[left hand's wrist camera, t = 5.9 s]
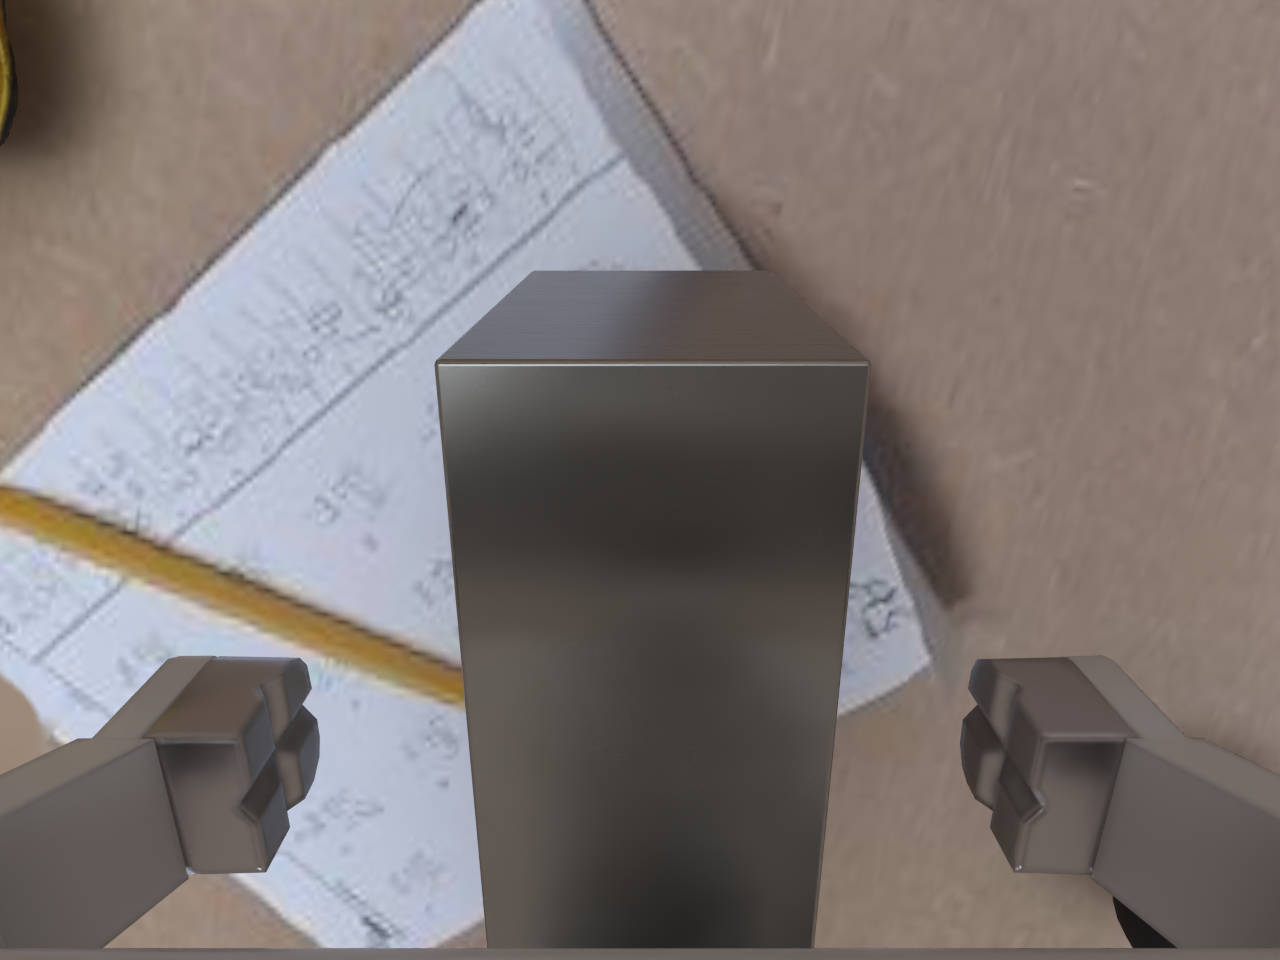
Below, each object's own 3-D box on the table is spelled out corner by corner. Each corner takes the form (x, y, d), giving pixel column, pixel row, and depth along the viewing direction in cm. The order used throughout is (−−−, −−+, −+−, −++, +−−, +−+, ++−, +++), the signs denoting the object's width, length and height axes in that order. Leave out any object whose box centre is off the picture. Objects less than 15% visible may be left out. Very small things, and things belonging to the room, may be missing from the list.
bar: (531, 270, 18) (432, 359, 10) (771, 270, 18) (873, 360, 10) (571, 1127, 27) (539, 1527, 19) (726, 1129, 27) (757, 1530, 19)
